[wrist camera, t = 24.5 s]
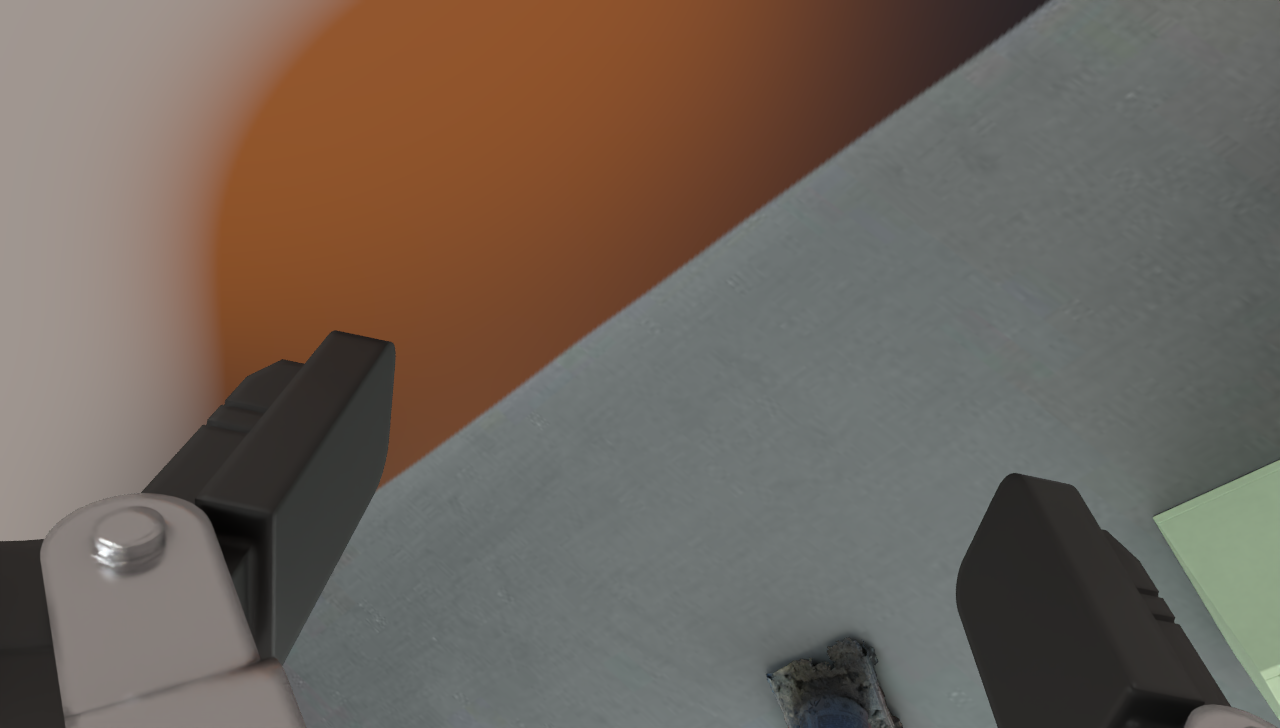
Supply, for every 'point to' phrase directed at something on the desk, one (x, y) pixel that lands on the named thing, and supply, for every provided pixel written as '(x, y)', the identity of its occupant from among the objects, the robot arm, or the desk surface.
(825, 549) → the desk surface
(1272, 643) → the trash bin
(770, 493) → the desk surface
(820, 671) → the beverage can
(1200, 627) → the desk surface
